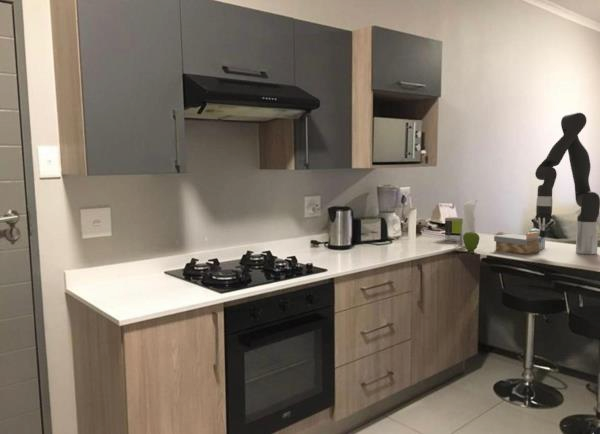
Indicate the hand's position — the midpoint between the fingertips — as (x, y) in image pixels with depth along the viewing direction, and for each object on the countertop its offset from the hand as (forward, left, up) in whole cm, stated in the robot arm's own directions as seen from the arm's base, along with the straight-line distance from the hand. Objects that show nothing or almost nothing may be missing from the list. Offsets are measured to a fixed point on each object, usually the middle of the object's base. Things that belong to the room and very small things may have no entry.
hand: (542, 237), depth 269 cm
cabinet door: (+14, 0, -4) cm, 15 cm away
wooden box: (+14, 0, -9) cm, 17 cm away
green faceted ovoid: (+30, +19, -10) cm, 37 cm away
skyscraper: (+42, +5, -10) cm, 44 cm away
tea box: (+60, -10, -10) cm, 62 cm away
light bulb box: (+13, -19, -10) cm, 25 cm away
